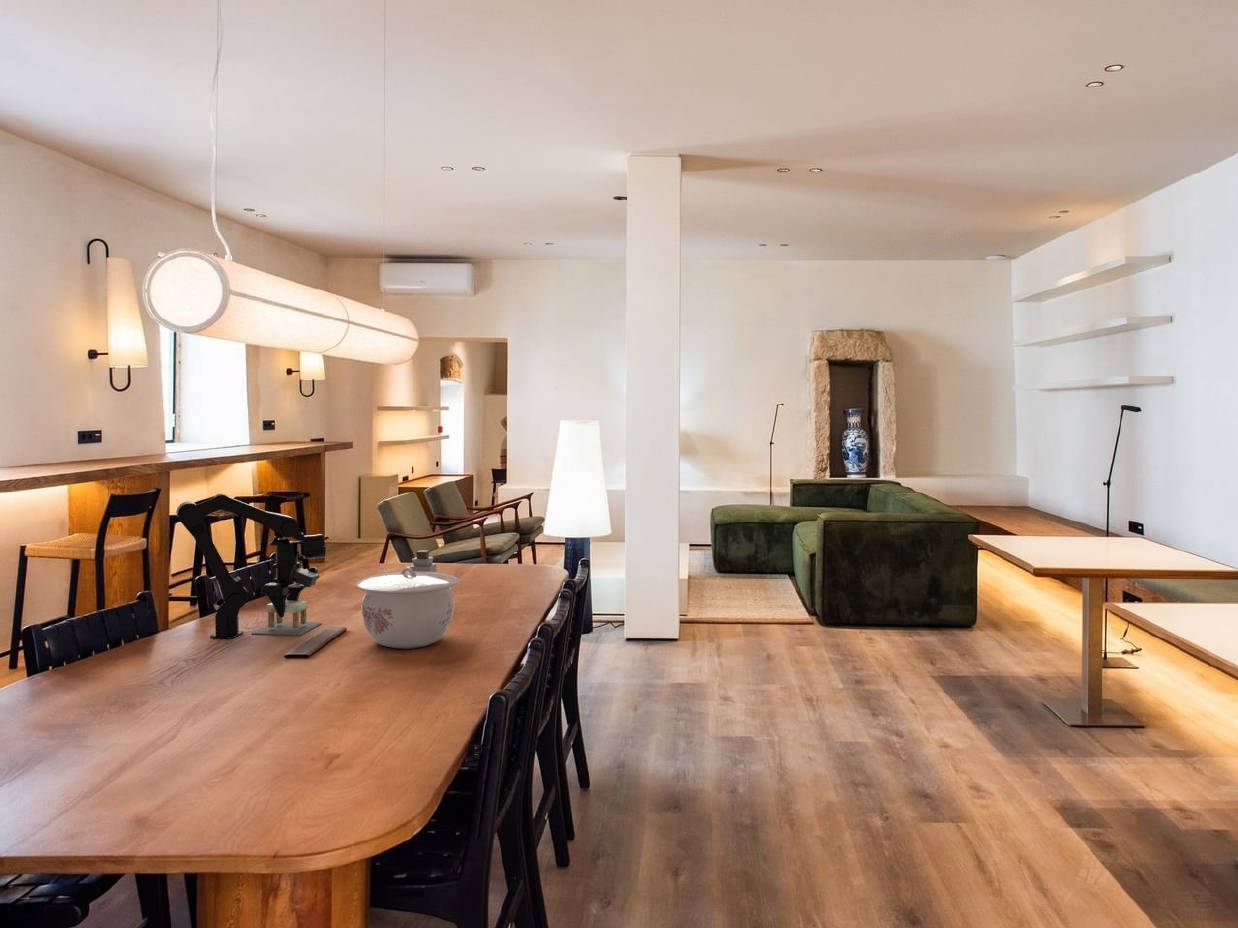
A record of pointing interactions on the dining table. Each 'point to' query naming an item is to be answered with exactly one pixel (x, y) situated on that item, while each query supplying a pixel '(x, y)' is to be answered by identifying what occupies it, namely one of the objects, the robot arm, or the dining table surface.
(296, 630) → the felt pad
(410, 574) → the chamber pot
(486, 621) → the dining table surface
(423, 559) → the perfume bottle
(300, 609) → the stool
